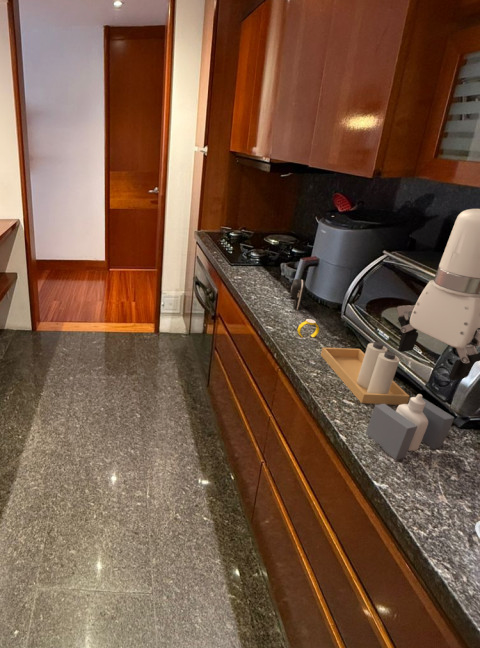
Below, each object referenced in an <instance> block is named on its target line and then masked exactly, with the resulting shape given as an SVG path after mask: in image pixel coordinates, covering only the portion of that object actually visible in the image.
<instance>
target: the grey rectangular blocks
mask: <svg viewBox="0 0 480 648" xmlns="http://www.w3.org/2000/svg"><path fill="white" fill-rule="evenodd" d="M422 400H423V401H425V403H426V404H425V406H424V409H423V411H422V412H423V413H424V414H425V416H426V418H427V419H428V426H427V428H426V431H425V434H424V436H423V439H422V441H421V442H423V443H425V444H426V445H427V446H428V447H430V451H436V450H437V448H441V447H443V445H444V443H445V441H446V438H447V436H448V434H449V432H450V429H451V427H452V424H453V422H454V420H455V417H454V416H453V415H451V414H450V413H448V412H446V411H444V410H443V409H442V408H440V407H439V406H436V405H435V404H434V403H432V402H431V401H429V400H427V399H425V398H424V397H422ZM416 429H417V426H416V425H415V424H414V423H412V422H411V421H409V420H408V419H406V418H405V417H403V416H402V415H400V414H399V413H398V412H396V410H395V409H394V408H392V407H390V406H389V405H388V404H374V407H373V409H372V413H371V416H370V419H369V422H368V425H367V428H366V430H365V434H366V435H367V437H369V438H371V440H373V441H374V442H375V443H377V444H378V445H379V446H378V447H379V448H380V449H381V450H382V451H384V452H385V453H386V454H387V455H388V456H390V457H391V458H393V459H394V461H395V460H396V461H398V460H401V459H404V458H406V457H407V455H408V453H409V451H408V449H409V447H410V444H411V442H412V439H413V437H414V434H415V431H416Z"/></svg>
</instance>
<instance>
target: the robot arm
mask: <svg viewBox="0 0 480 648" xmlns="http://www.w3.org/2000/svg"><path fill="white" fill-rule="evenodd" d="M396 311H397V316H398V318H397V320H398V323H399V325H400V332H401V333H402V334H401V337H400V339H399V343H398V344H399V345H398V348H397V351H398V352H400V353H404V352H405V353H406V352H410V351H413V350H414V349H415V345H416V343H417V340H418V338H419V332H420V333H423V334H424V335H427V336H429V337H431V338H433V339H434V340H437V341H439V342H441V343H444V344H445V345H448V346H450V347H452V348H454V349H455V350H456V352H457V354H458V357H459V359H456V360H455V361H454V364H453V366H452V368H451V371H450V372H449V375H448V379H450V381H457V380H463V379H466V378H467V377H469V376H470V373H471V371H472V368H473V366H474V364H475V363H477V362H480V352H478V350H477V347H480V208H469V209H465V210H463V211H461V212H460V213H459V214H458V215H457V217H456V219H455V221H454V225H453V227H452V230H451V232H450V235H449V238H448V240H447V243H446V246H445V248H444V252H443V254H442V256H441V259H440V262H439V264H438V267H437V270H436V272H435V274H434V277H433V279H431V280H429V281H428V282H427V284H426V286H425V287H424V288H423V290H422V291H421V294H420V295H419V297H418V299H417V301H416V303H415V304H411V305H409V304H407V305H398V306H397V308H396ZM409 313H411V315H410V314H409ZM409 315H410V316H409Z"/></svg>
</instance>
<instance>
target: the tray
mask: <svg viewBox="0 0 480 648" xmlns="http://www.w3.org/2000/svg"><path fill="white" fill-rule="evenodd" d="M365 353H366V352H364V351H362V349H360V348H350V347H349V348H347V347H346V348H345V347H322V348H321V353H320V356H321V358H322V359H323V360H324V361H325V362H326V363H327V365H328V366H329V367H330V368H331V369H332V371H334V373H335V374H336V375H337V376H338V377H339V378H340V379H341V381H342V382H343V383H344V385H345V386H346V387H347V388H348V389H349V391H351V393H352V394H353V395H354V396H355V397H356V399H357V400H358V401H359V402H360V403H361V404H373V405H379V404H386V405H393V406H399V405H401V404H408V403H409V401H410V398H411V397H410V395H409V394H408V393H407V392H406V391H405V389H403V388H402V387H401V386H400V385H399V384H397V383H396V381H394V380H393V381H392V384H391V387H390V390H389V393H388V394H377V393H367V390H368V389H366V388H363V387H361V386H360V385H358V384H357V379H358V376H359V372H360V369H361V366H362V362H363V359H364V356H365Z"/></svg>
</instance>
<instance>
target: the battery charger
mask: <svg viewBox="0 0 480 648" xmlns="http://www.w3.org/2000/svg"><path fill="white" fill-rule="evenodd" d="M305 287H306V281H305V280H304V279H300V278H295V279H293V281H292V283H291V286H290V297H291V298H293V303H292V304H293V310H298V311H300V310H301V307H302V303H303V297H304V293H305ZM289 312H290V313H292V314H294V312H293V311H291V310H289Z"/></svg>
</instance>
